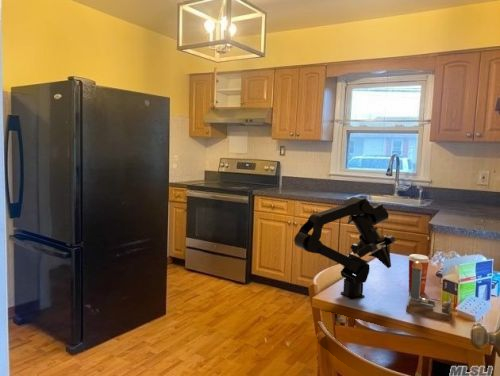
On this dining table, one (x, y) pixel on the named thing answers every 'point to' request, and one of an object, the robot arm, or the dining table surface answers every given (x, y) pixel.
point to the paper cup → (424, 261)
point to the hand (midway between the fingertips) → (389, 267)
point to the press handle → (417, 283)
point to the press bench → (431, 309)
